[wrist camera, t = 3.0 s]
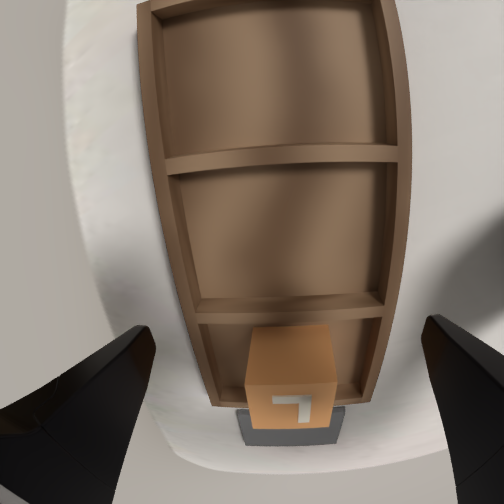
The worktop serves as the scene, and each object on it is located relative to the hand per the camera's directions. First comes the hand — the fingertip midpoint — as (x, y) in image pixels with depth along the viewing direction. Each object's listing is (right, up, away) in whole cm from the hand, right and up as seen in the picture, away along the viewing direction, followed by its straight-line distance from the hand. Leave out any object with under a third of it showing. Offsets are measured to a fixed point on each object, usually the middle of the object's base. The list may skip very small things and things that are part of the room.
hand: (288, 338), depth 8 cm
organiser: (+1, +4, +8) cm, 9 cm away
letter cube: (+2, -5, +11) cm, 12 cm away
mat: (+3, -15, +17) cm, 23 cm away
